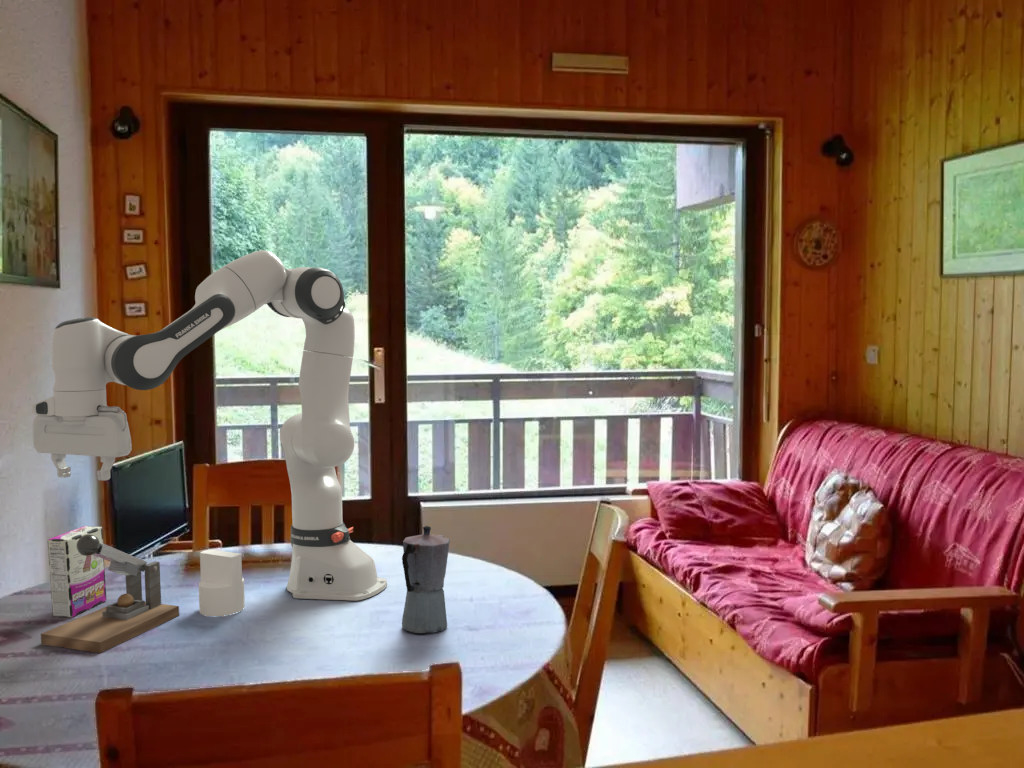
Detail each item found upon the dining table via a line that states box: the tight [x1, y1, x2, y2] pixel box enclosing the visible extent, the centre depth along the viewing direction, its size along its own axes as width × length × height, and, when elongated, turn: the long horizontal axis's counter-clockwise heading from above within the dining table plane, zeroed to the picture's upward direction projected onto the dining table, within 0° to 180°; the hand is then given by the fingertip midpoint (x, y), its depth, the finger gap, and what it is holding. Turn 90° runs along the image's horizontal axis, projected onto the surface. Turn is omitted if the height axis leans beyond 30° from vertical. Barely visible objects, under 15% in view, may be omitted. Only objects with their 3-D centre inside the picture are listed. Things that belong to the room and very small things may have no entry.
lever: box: [77, 534, 148, 576], centre depth 170 cm, size 4×17×4 cm, turn 161°
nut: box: [116, 593, 134, 608], centre depth 174 cm, size 3×3×3 cm
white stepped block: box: [198, 548, 246, 617], centre depth 182 cm, size 9×9×12 cm
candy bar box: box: [47, 525, 107, 618], centre depth 183 cm, size 11×5×16 cm, turn 168°
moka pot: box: [401, 525, 450, 634], centre depth 170 cm, size 10×15×20 cm, turn 161°
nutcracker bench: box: [40, 561, 180, 654], centre depth 171 cm, size 14×21×11 cm, turn 161°
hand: (83, 478), depth 164 cm, fingers open, 8 cm apart
